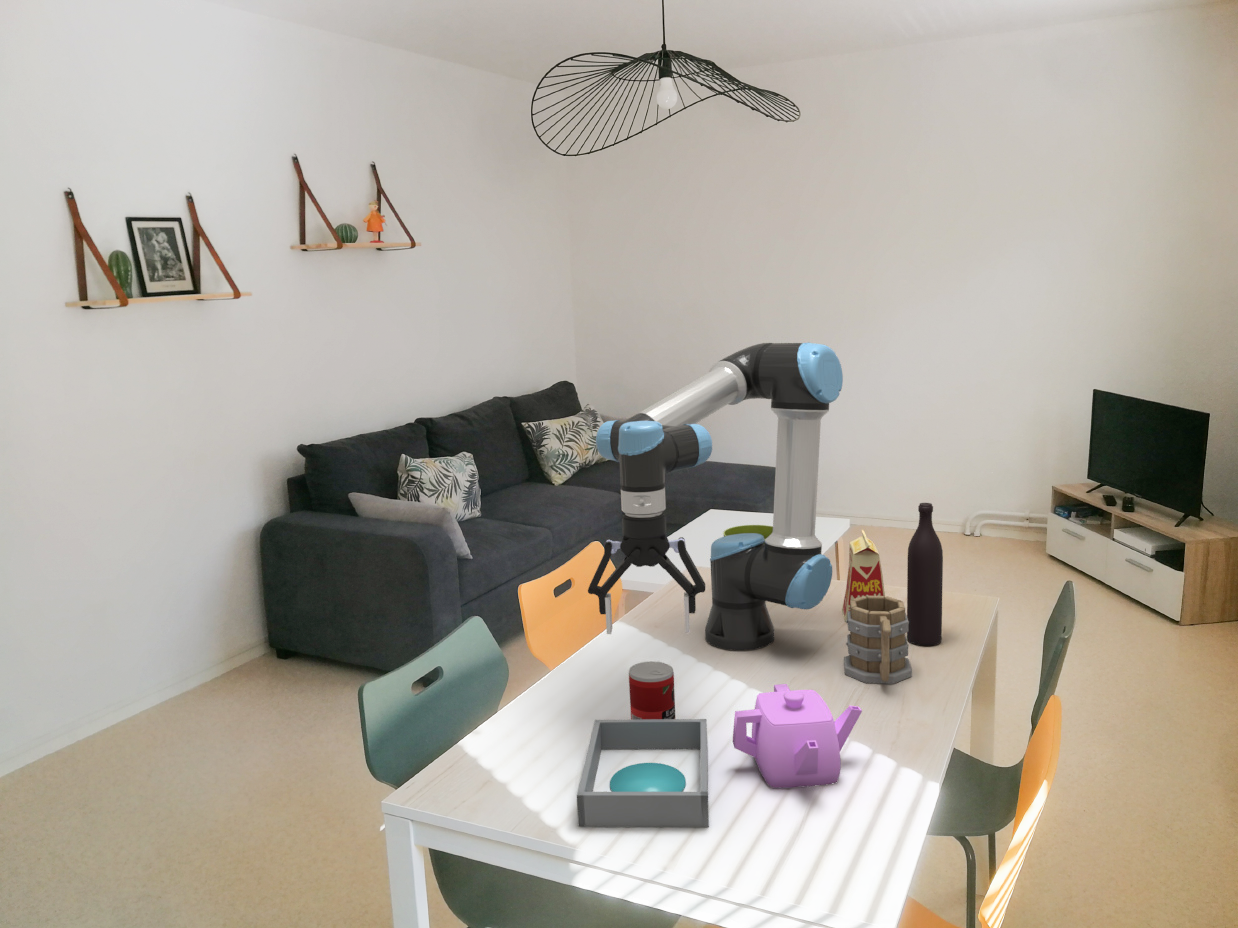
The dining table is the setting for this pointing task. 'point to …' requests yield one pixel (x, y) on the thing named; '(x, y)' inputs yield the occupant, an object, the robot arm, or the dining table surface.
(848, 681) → the dining table surface
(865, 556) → the milk carton
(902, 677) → the tankard
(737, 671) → the dining table surface
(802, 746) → the teakettle
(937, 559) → the wine bottle
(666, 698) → the canned food
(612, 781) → the grey square tray
